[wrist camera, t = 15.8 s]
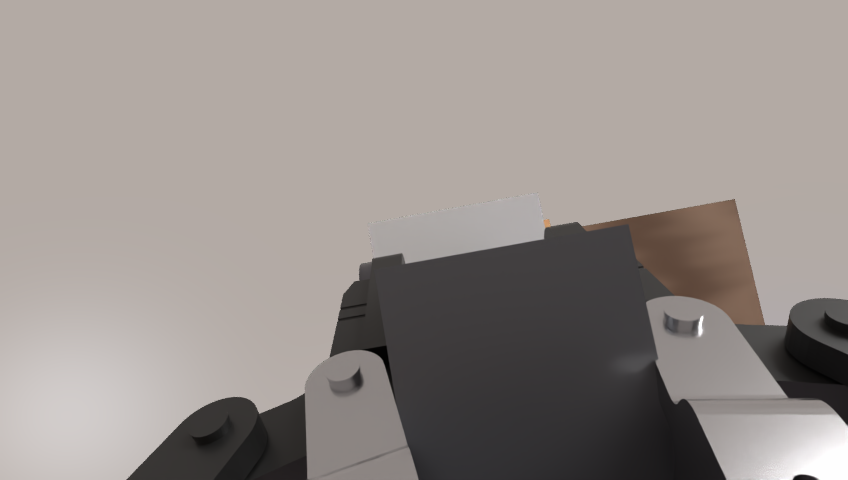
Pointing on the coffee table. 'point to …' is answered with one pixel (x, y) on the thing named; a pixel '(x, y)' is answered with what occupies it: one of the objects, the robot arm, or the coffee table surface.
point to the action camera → (519, 347)
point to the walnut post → (698, 256)
